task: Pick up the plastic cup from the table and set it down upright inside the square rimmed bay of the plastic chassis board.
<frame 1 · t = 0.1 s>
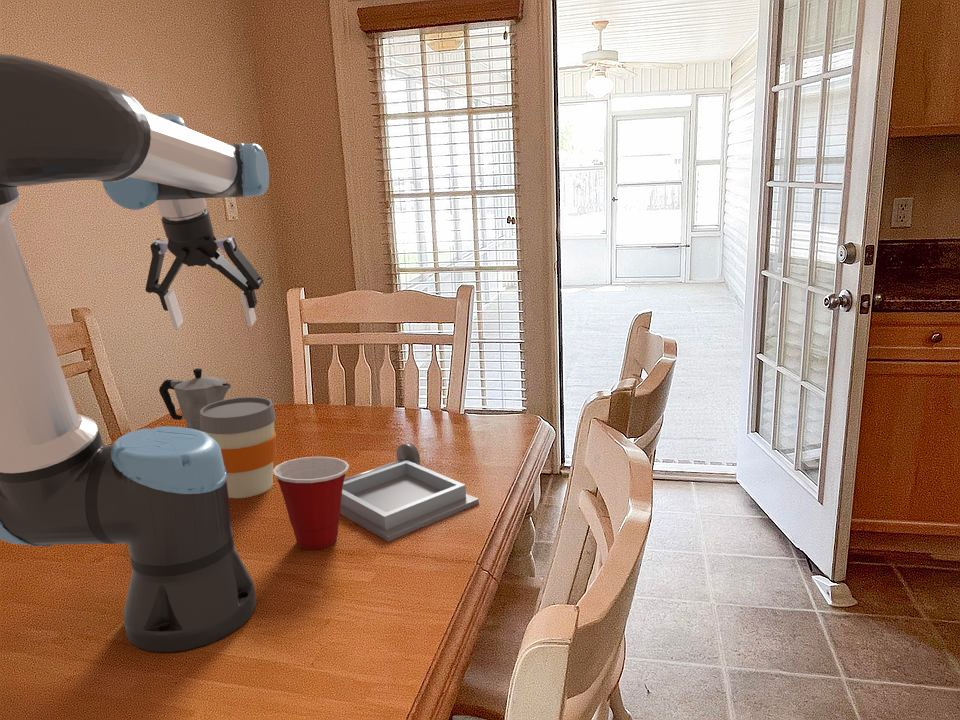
hand: (215, 324, 130), 28 cm above the table, tool tilted 20°, fingers open, 13 cm apart
plastic cup: (318, 541, 107), on the table
coffeepot: (204, 456, 144), on the table
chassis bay: (394, 500, 119), on the table
reusable coffee cup: (246, 488, 127), on the table
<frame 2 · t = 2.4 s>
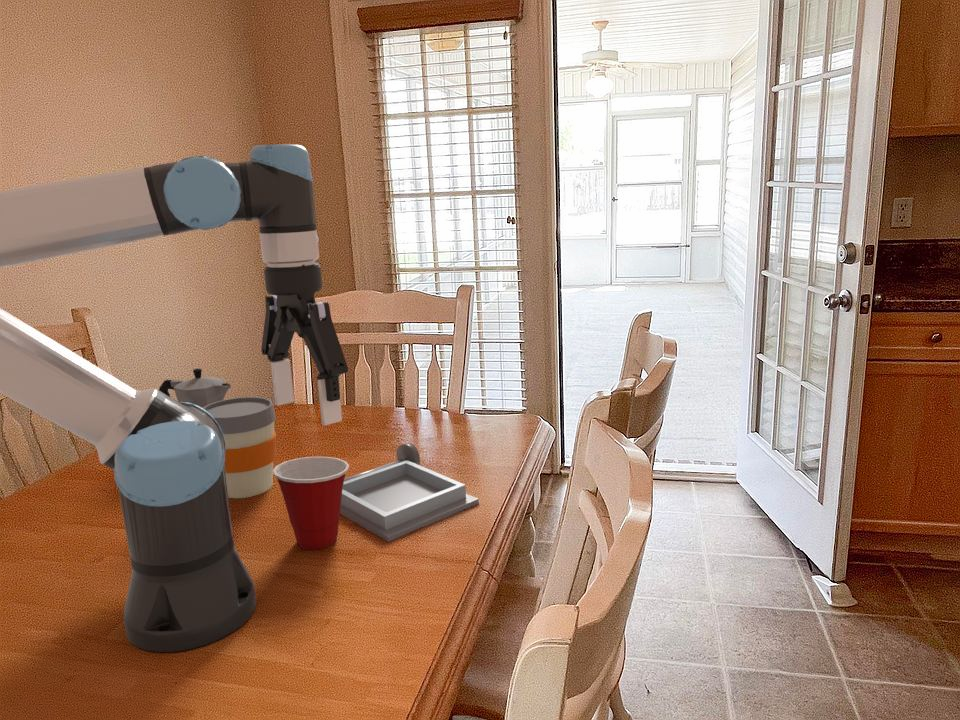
hand: (307, 412, 102), 20 cm above the table, tool pointing down, fingers open, 13 cm apart
nothing on the table moved.
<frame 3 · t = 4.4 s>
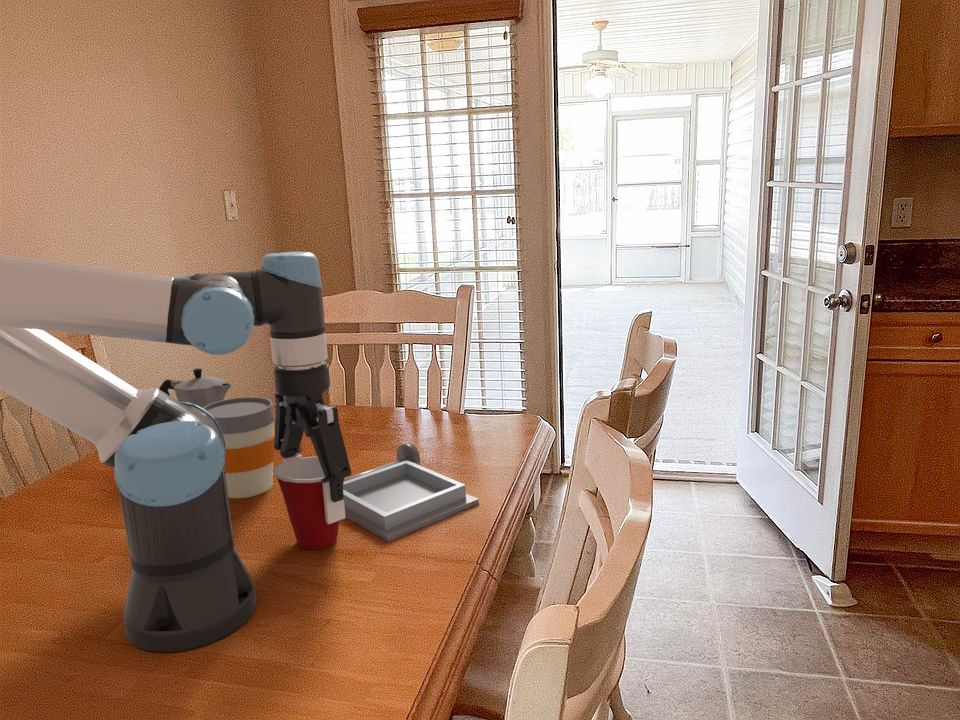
hand: (315, 508, 106), 5 cm above the table, tool pointing down, fingers closed on plastic cup, 11 cm apart
plastic cup: (318, 541, 107), on the table, touching gripper
everything else where it was.
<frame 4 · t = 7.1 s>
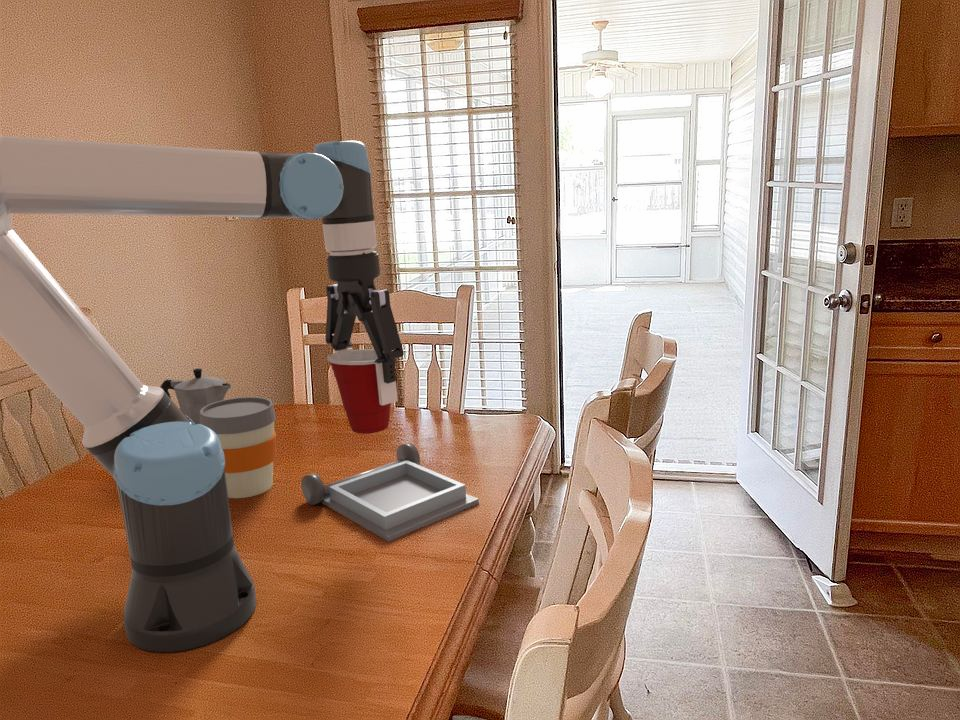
hand: (367, 395, 110), 20 cm above the table, tool pointing down, fingers closed on plastic cup, 11 cm apart
plastic cup: (371, 428, 111), point 14 cm above the table, touching gripper
everything else where it was.
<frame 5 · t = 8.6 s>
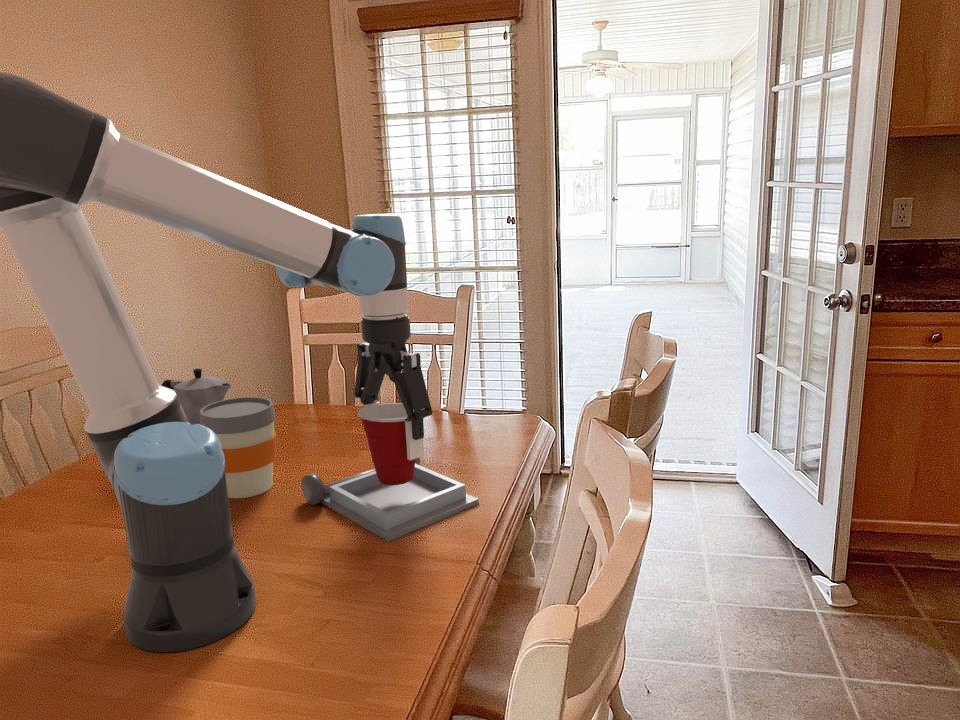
hand: (394, 448, 116), 9 cm above the table, tool pointing down, fingers closed on plastic cup, 11 cm apart
plastic cup: (396, 479, 118), point 4 cm above the table, touching gripper
everything else where it was.
when the fingers open (7 cm above the table, at t = 9.7 s): plastic cup stays where it is, resting on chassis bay.
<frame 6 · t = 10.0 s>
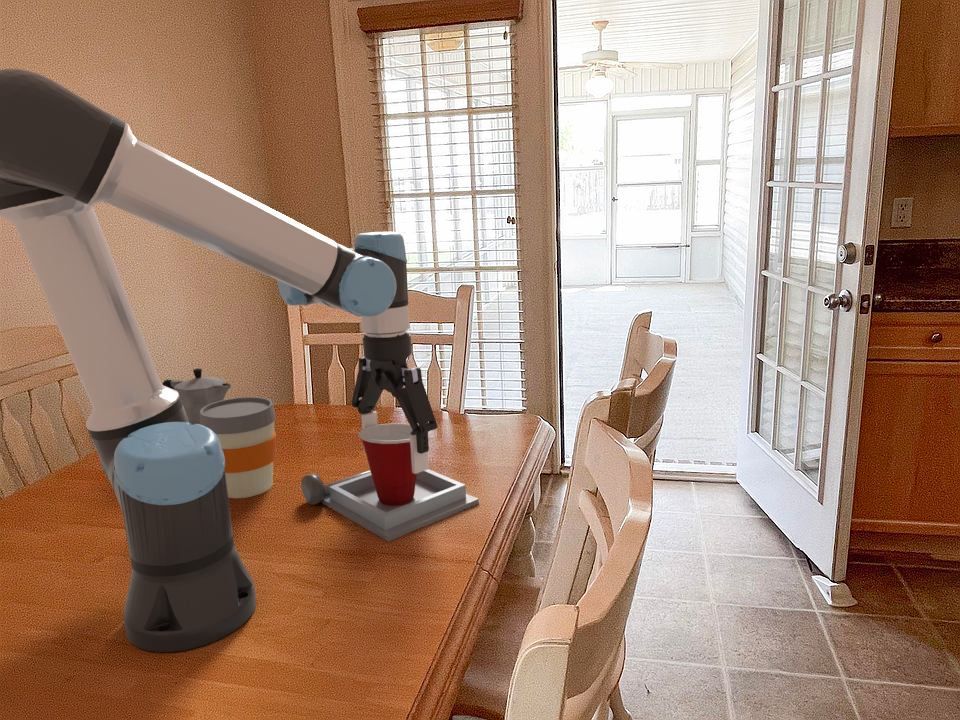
hand: (395, 460, 117), 8 cm above the table, tool pointing down, fingers open, 13 cm apart
plastic cup: (397, 499, 118), point 1 cm above the table, touching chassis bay
everything else where it was.
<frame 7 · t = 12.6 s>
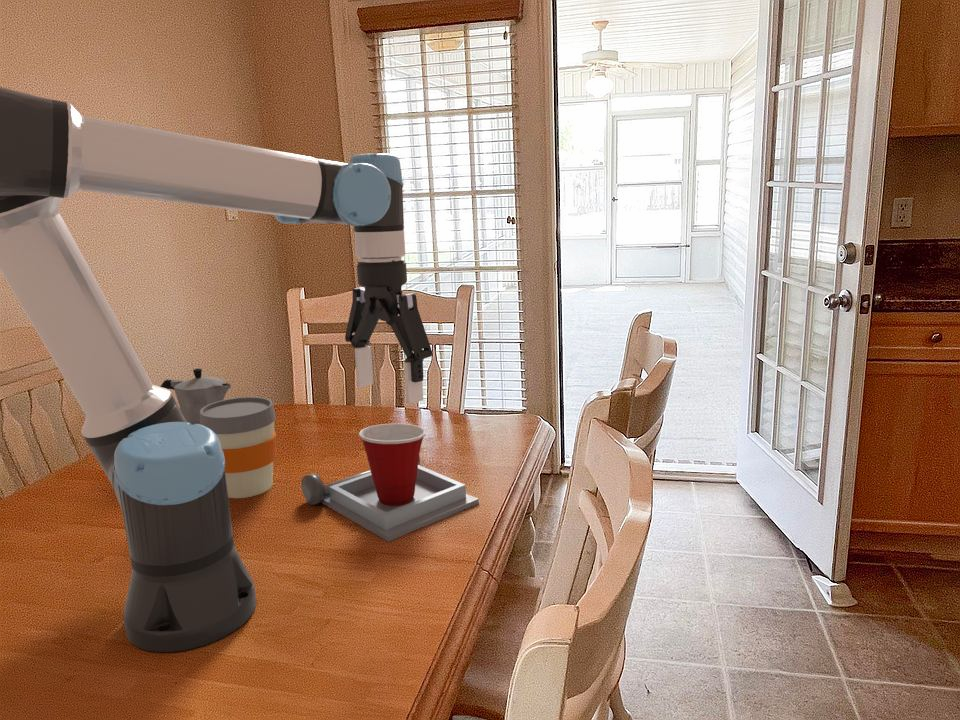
hand: (388, 393, 114), 19 cm above the table, tool pointing down, fingers open, 13 cm apart
nothing on the table moved.
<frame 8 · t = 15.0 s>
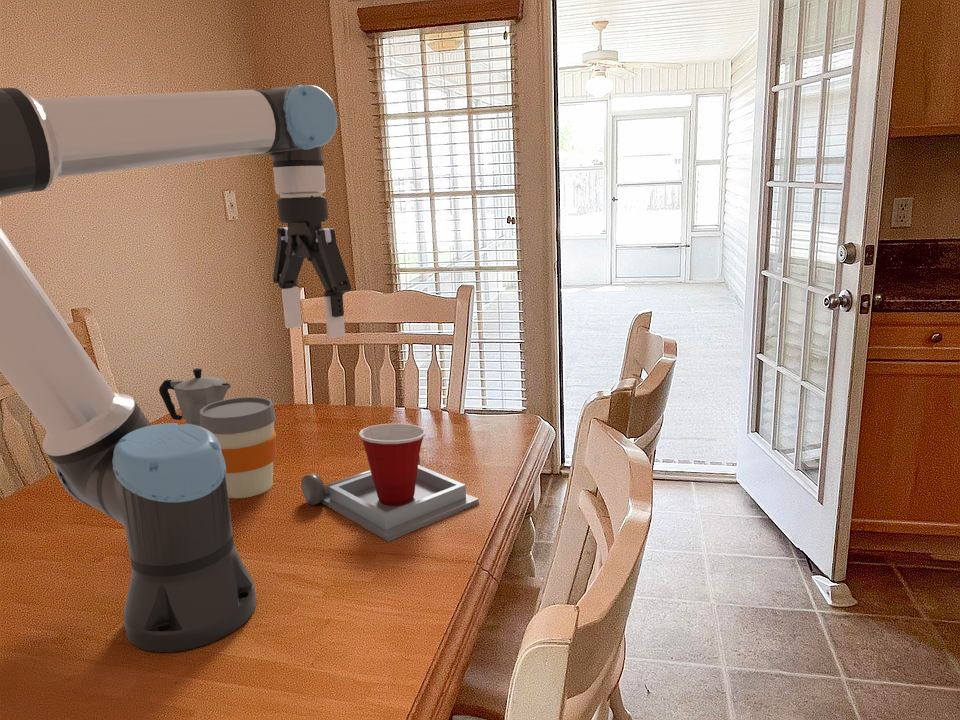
hand: (314, 332, 115), 29 cm above the table, tool pointing down, fingers open, 13 cm apart
nothing on the table moved.
at the end: plastic cup 0.1 cm from the target spot on the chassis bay, point 0.6 cm above the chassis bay's base; plastic cup tilted 0°; the gripper is holding nothing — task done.
